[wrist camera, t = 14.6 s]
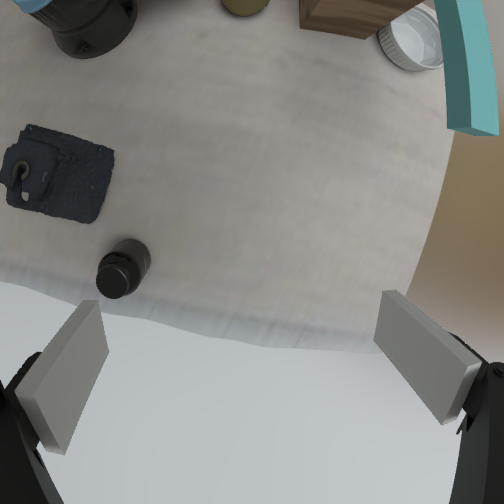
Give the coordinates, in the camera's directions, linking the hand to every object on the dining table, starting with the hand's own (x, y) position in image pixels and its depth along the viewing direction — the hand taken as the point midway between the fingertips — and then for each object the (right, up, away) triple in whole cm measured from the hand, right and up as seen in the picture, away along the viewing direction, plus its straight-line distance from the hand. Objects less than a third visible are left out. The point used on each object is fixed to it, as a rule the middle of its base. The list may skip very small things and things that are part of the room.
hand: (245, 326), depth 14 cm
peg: (+17, +24, +4) cm, 30 cm away
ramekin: (+29, +42, +32) cm, 60 cm away
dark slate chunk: (-33, +16, +33) cm, 50 cm away
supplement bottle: (-20, +2, +38) cm, 43 cm away
